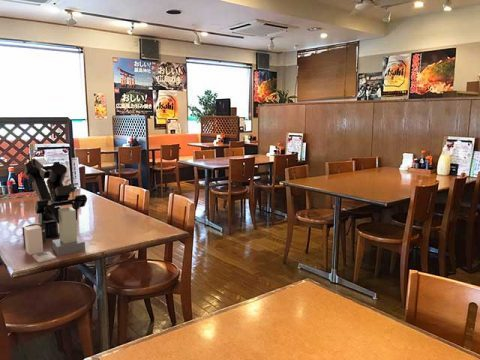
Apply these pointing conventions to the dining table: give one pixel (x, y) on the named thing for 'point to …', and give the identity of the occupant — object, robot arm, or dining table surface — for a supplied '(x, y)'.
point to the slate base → (68, 246)
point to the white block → (33, 239)
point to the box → (41, 229)
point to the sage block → (67, 225)
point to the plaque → (43, 257)
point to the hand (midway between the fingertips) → (67, 221)
